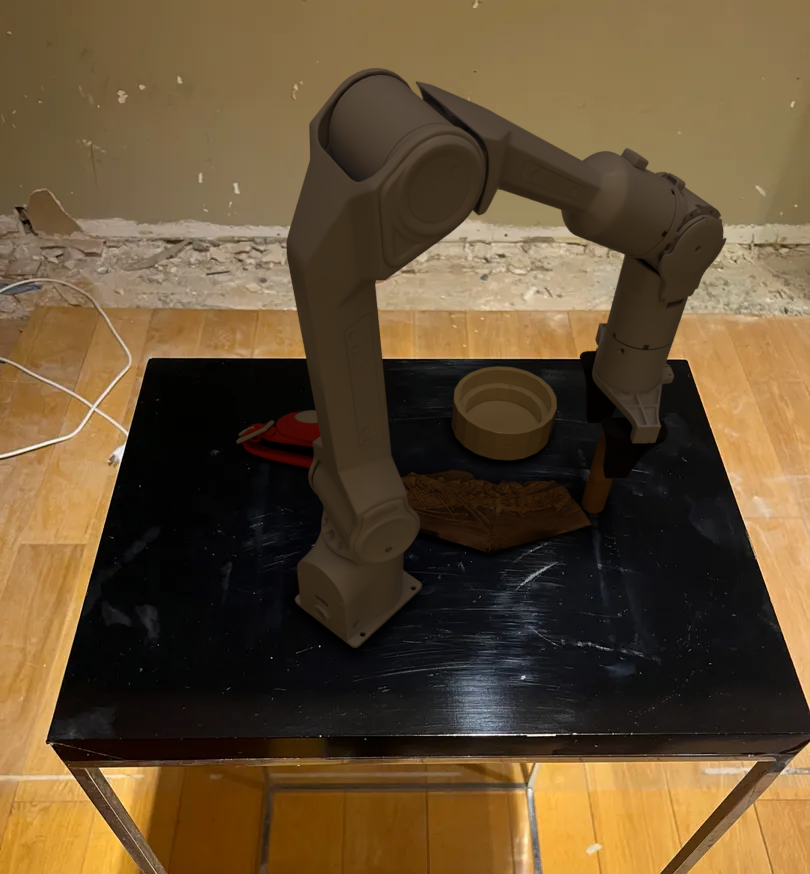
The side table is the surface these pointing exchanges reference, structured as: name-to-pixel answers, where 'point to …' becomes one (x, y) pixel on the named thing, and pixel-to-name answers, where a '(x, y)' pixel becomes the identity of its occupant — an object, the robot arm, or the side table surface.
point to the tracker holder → (283, 437)
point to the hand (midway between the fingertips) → (605, 447)
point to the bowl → (503, 413)
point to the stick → (597, 482)
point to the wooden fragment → (491, 509)
